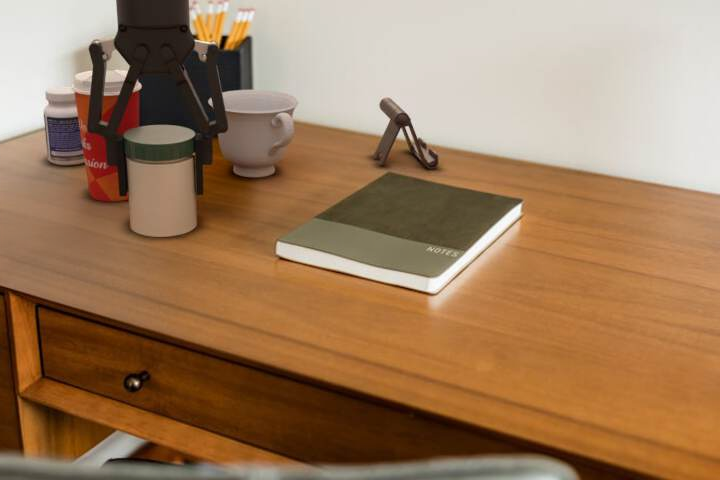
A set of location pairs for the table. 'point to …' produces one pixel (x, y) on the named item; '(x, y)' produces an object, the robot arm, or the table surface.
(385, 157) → the tablet stand
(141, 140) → the jar lid
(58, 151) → the pill bottle
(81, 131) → the coffee cup
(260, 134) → the teacup
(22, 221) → the table surface
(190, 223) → the jar
